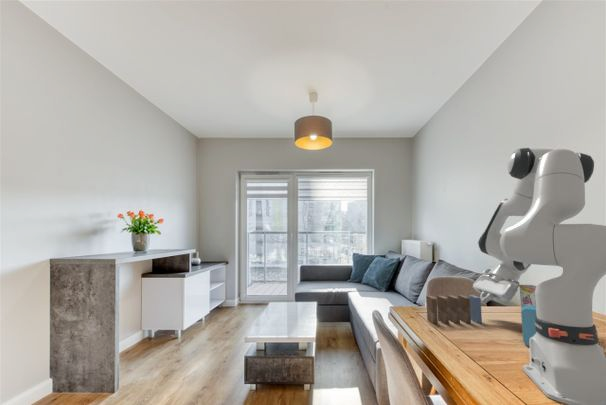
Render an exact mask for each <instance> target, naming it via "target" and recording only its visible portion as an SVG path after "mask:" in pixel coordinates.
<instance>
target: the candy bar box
mask: <svg viewBox="0 0 606 405" xmlns="http://www.w3.org/2000/svg"><path fill="white" fill-rule="evenodd" d="M519 285H520V286H519V295H520V296H519V297H520V308H521V309H520V310H521V311H522V308H523V307H524V306H533V307H536V301H535V289H536V287H537V286H538V285H537V286H536V285H534V284H519Z"/></svg>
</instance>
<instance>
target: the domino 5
mask: <svg viewBox="0 0 606 405" xmlns="http://www.w3.org/2000/svg"><path fill="white" fill-rule="evenodd" d="M467 297H469V298H470V313H471V322H474V323H476V324H483V319H482V316H483V315H482V303H481V298H480V296H476V295H474V294H468V295H467Z"/></svg>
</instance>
